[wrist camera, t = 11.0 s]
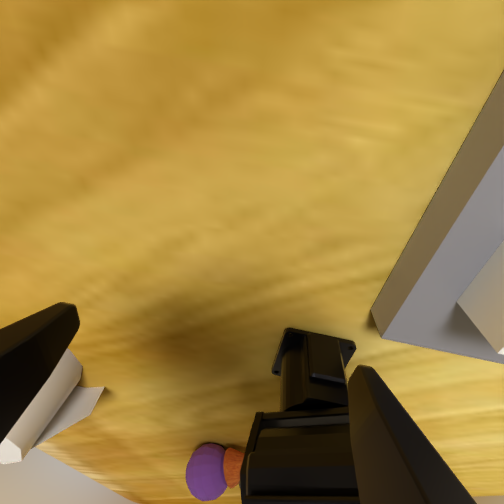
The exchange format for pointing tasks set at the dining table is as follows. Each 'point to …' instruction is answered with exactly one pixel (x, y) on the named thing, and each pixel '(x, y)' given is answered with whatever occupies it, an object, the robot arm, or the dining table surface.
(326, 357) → the robot arm
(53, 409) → the toilet tissue
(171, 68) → the dining table surface
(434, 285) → the power strip
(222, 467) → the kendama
